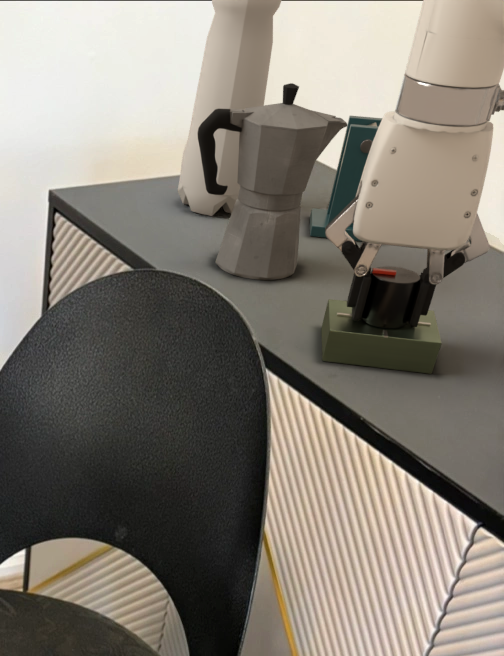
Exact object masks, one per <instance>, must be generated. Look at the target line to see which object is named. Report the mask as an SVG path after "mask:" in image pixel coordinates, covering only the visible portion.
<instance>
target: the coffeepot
mask: <svg viewBox="0 0 504 656" xmlns="http://www.w3.org/2000/svg"><path fill="white" fill-rule="evenodd" d="M299 88H300V85H298V84H296V83H293V82H292V83H291V82H290V83H286V84H283V86H282V102H277V103H271V104H264V106H257V107H250V108H245V110H244V109H215V110H214V111H213V112H212V113H211V114H210V115H209V116H208V117H207V118H206V119H205V120H204V121H203V122H202V123H201V125H200V126H199V128H198V133H197V134H198V142H199V147H200V153H201V160H202V166H203V172H204V179H205V186H206V190H207V192H208V193H209V194H213V195H224V194H225V192H226V191H227V188H228V186H223V185H219V184H217V181H216V178H217V172H218V166H217V163H216V160H215V148H216V145H215V139H214V132H215V131H216V130H217V129H226V130H230V131H236V132H240V135H239V158H238V180H237V183H238V184H239V185H240V189H239V194H238V199H237V200H236V202H235V205H234V208H233V211H232V214H231V213H230V217H229V220H228V223H227V226H226V229H225V232H224V236H223V238H222V241H221V245H220V246H219V250H218V253H217V256H216V259H215V264H216V265H217V266H218V267H219V268H220V270H222V271H224V272H226V273H228V274H231V275H233V276H235V277H236V276H237V277H240V278H245V279H250V280H260V281H261V280H262V281H269V280H270V281H272V280H280V279H281V280H282V279H286V278H288V277H290V276H292V275H294V273H295V272H296V268H297V265H298V259H299V246H300V245H299V244H300V243H299V242H300V227H301V212H302V211H301V209H302V207H301V206H300V205H301V203H302V197H303V193H304V192H305V191H306V188H307V186H308V183H309V180H310V177H311V174H312V172H313V169H314V167H315V163H316V161H317V160H318V158H319V157H320V156H321V154H322V153H323V152H324V150H325V149H326V148H327V147H328V146H329V145H330V143H331V141H332V140H333V139H335V137H336V136H337V134H338V133H339V132H341V131H342V129H345V128H347V124H348V122H347V121H345V120H344V119H343V118H341V117H337V116H336V115H333V114H329V113H324V112H320V111H316V110H311V109H309V108H307V107H304V106H301V105H298V104H295V103H294V102H295V99H296V97H297V94H298V91H299Z"/></svg>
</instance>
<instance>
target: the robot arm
mask: <svg viewBox="0 0 504 656" xmlns="http://www.w3.org/2000/svg"><path fill="white" fill-rule="evenodd" d="M412 39H413V40H412V43H411V47H410V51H409V55H408V59H407V63H406V66H405V69H404V74H403V78H402V82H401V85H400V89H399V93H398V98H397V101H396V105H395V110H394V111H387V112H385V113H384V115H383V117H382V118H383V119H382V121H381V123H380V125H379V127H378V130H377V132H376V135H375V137H374V140H373V143H372V146H371V148H370V151H369V154H368V157H367V160H366V163H365V167H364V170H363V173H362V177H361V180H360V183H359V187H358V190H357V194H356V197H355V198H354V199H353V200H352V201H351V202H350V203H349V204H348V205H347V206H346V207H345V208H344V209H343V210H342V211H341V212H340V213H339V214H338V215H337V216H336V217H335V218H334V219H333V220H332V221H331V222H330V223H329V224H328V225H327V226H326V228H325V234H326V237H327V238H326V239H328V240H329V241H330V242H331V243H332V244H333V246H335V248H337V249H338V250H339V251H340V252H341V255H343V257H344V258H345V259H346V261H347V263H348V264H349V265H350V267H351V269H352V270H353V271H354V273H353V275H352V280H351V283H350V284H351V285H350V287H349V291H348V296H347V300H346V301H347V307H352V318H353V320H357V321H358V320H359V319H361V317H362V314H363V310H364V306H365V303H366V299H367V295H368V291H369V288H370V284H371V271H372V264H373V263H374V261H375V259H376V257H377V255H378V253H379V251H380V249H381V248H382V246H392V247H401V248H412V249H421V250H427V251H426V252H427V253H426V267H425V268H424V269H423V270H422V272H420V274H418V275H419V276H420V282H419V286H418V289H417V292H416V296H415V299H414V303H413V306H412V309H411V313H410V316H409V319H408V323H409V325H411V327H417V325H418V322H419V319H420V315H424V316H426V315H427V313H428V310H430V307H431V303H432V301H433V298H434V297H433V296H434V294H435V290H436V287H437V285H440V284H441V283H442V282H443V279H445V278H446V277H448V276H450V275H451V274H452V273H454V272H455V271H456V270H459V268H461V267H462V266H464V264H466V263H468V262H471V261H473V260H476V259H477V258H480V257H481V256H484V255H485V254H487V253H488V252H489V251H490V248H491V246H490V242H489V240H488V237H487V235H486V233H485V230H484V227H483V224H482V222H481V219H480V217H479V214H478V211H479V206H480V202H481V198H482V194H483V189H484V186H485V181H486V177H487V172H488V167H489V162H490V157H491V151H492V145H493V138H494V123H492V121H491V119H492V115H493V116H494V115H495V113H499V112H501V111H504V89H502V87H501V85H500V82H501V80H502V77H503V73H504V0H422V5H421V9H420V12H419V16H418V20H417V24H416V28H415V32H414V36H413V38H412ZM352 223H353V224H354V225H353V234H354V236H355V237H356V238H358V239H359V240H361V241H360V242H361V243H360V245H358V243H357V241H355V240H354V239H353V238H351V237H350V236H349V235H348V233H347V232H346V231H345V230H346V229H347V228H348V227H349V226H350V225H351V224H352ZM446 251H449V252H447V253H445V252H446Z"/></svg>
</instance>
